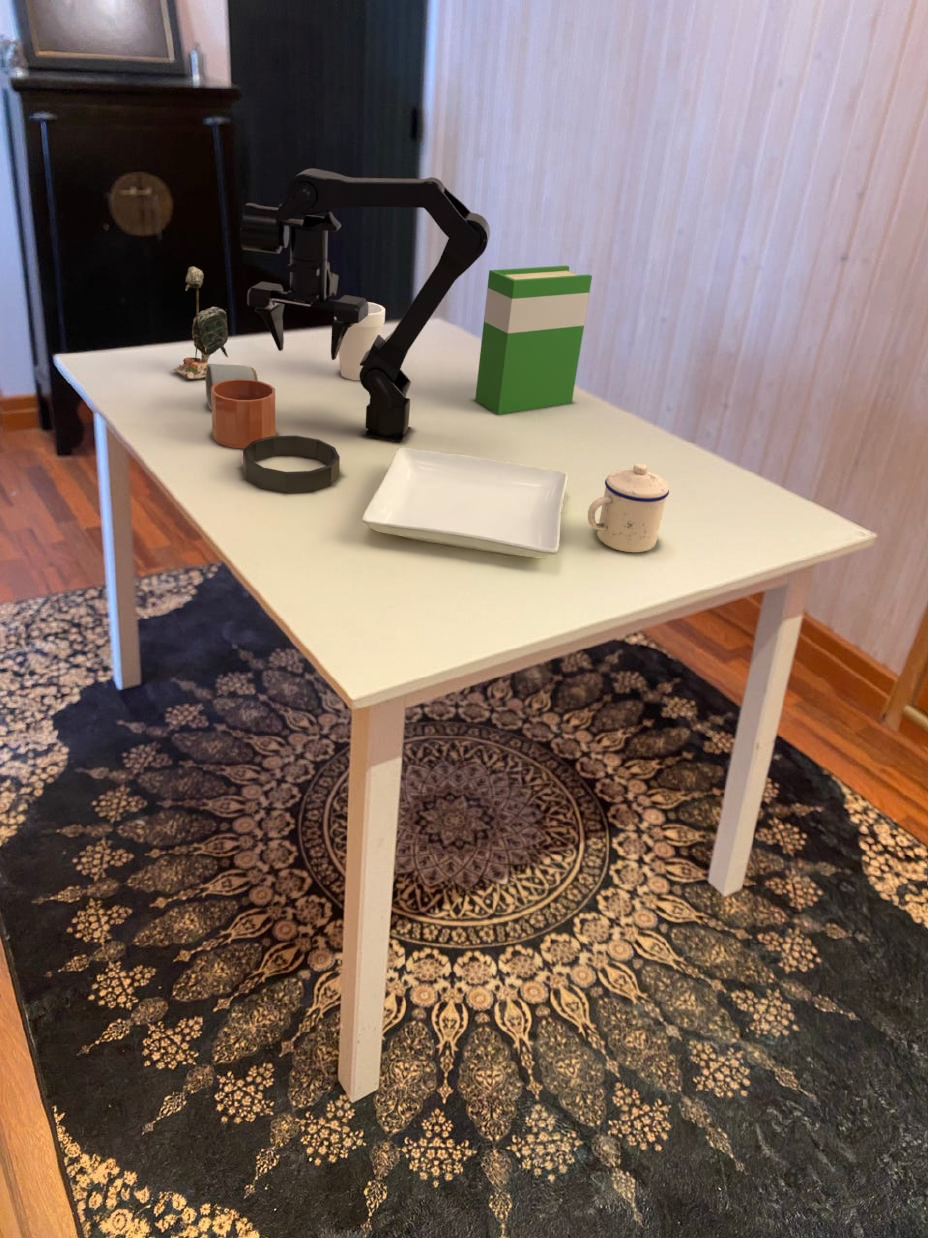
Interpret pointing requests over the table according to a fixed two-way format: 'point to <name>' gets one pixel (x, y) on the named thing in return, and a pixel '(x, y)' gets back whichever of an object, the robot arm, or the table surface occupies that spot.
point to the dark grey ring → (290, 480)
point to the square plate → (470, 503)
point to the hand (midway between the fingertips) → (307, 354)
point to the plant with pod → (204, 331)
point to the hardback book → (531, 338)
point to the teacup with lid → (630, 509)
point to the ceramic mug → (226, 375)
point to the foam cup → (360, 341)
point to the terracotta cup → (242, 412)
